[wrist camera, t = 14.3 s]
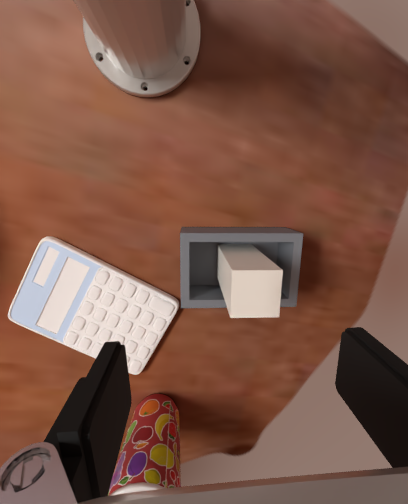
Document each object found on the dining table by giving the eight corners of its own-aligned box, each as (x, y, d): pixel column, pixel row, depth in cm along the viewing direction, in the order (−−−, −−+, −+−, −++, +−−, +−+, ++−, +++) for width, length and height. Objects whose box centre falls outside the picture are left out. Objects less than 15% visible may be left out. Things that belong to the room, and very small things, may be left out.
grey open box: (181, 226, 33) (180, 233, 28) (285, 227, 34) (303, 233, 29) (182, 290, 35) (180, 308, 30) (280, 290, 36) (296, 306, 31)
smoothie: (168, 437, 41) (148, 658, 21) (121, 418, 40) (54, 635, 20) (194, 398, 39) (197, 597, 20) (146, 377, 38) (99, 567, 19)
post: (217, 244, 34) (232, 270, 22) (251, 244, 34) (282, 270, 22) (216, 276, 35) (230, 317, 23) (249, 276, 35) (279, 317, 23)
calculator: (140, 371, 38) (138, 380, 37) (11, 314, 35) (1, 320, 34) (182, 299, 36) (182, 304, 34) (48, 231, 33) (40, 233, 31)
